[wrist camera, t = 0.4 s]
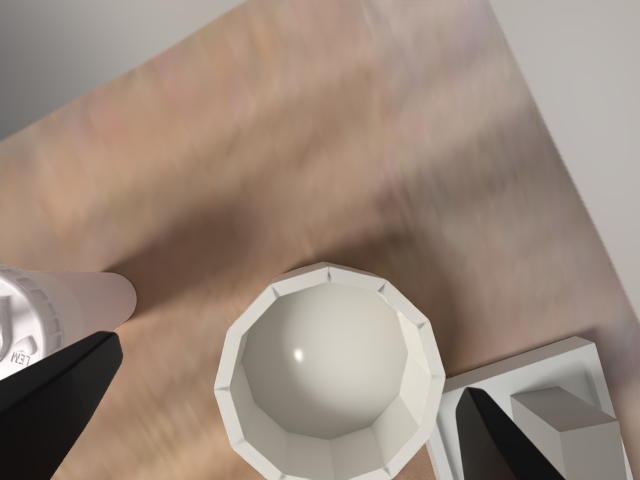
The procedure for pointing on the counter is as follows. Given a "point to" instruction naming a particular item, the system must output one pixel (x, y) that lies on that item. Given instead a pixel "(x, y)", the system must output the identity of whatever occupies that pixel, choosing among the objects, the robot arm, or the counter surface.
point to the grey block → (571, 434)
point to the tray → (519, 377)
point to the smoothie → (56, 311)
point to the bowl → (329, 377)
